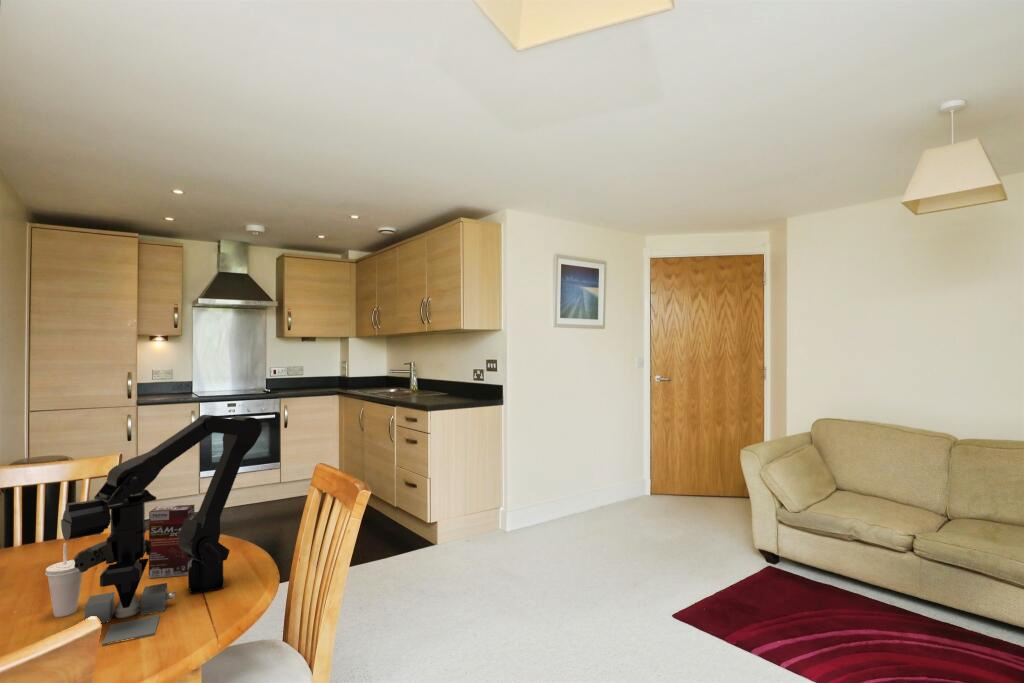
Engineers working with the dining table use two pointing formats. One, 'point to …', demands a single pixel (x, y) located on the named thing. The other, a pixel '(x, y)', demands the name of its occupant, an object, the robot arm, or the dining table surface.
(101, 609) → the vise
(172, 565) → the supplement box
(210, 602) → the dining table surface
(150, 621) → the mat
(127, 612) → the rook chess piece
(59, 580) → the smoothie
